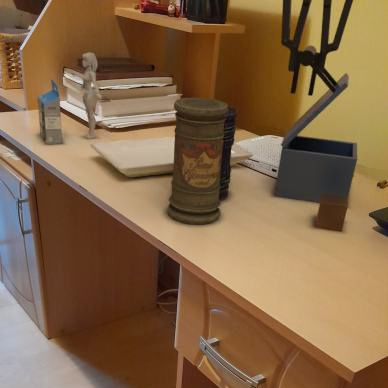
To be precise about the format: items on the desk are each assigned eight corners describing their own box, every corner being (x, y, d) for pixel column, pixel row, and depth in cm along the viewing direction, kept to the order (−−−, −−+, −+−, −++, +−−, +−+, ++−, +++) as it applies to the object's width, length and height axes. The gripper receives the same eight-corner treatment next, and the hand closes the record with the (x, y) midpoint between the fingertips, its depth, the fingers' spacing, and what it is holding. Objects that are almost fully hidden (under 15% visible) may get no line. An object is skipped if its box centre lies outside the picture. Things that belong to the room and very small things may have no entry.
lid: (348, 76, 95) (316, 36, 93) (348, 86, 86) (311, 42, 84) (289, 133, 104) (258, 98, 101) (283, 148, 94) (248, 109, 92)
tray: (254, 169, 113) (256, 152, 111) (119, 185, 99) (118, 166, 97) (214, 147, 124) (216, 132, 122) (89, 159, 111) (88, 142, 109)
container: (161, 207, 92) (164, 96, 81) (208, 203, 94) (216, 96, 84) (177, 227, 85) (183, 109, 74) (227, 222, 88) (239, 108, 77)
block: (342, 221, 91) (348, 196, 89) (341, 231, 88) (347, 205, 85) (316, 217, 92) (321, 193, 89) (315, 227, 88) (320, 201, 86)
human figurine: (77, 131, 129) (71, 48, 118) (91, 130, 130) (87, 48, 120) (94, 144, 121) (89, 56, 110) (109, 143, 122) (106, 56, 112)
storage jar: (214, 182, 104) (221, 102, 95) (238, 199, 97) (247, 114, 88) (168, 187, 100) (171, 103, 91) (190, 205, 93) (195, 116, 84)
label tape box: (39, 134, 124) (33, 77, 117) (56, 133, 126) (51, 77, 119) (46, 144, 118) (40, 85, 111) (64, 143, 119) (59, 85, 112)
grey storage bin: (346, 187, 107) (357, 142, 101) (345, 206, 97) (357, 159, 92) (281, 178, 109) (288, 134, 104) (274, 196, 100) (281, 149, 95)
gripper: (380, -68, 82) (345, 94, 96) (282, -74, 84) (262, 85, 98) (382, -72, 76) (344, 102, 90) (277, -78, 78) (256, 91, 92)
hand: (301, 92), depth 94 cm, fingers closed on lid, 2 cm apart
